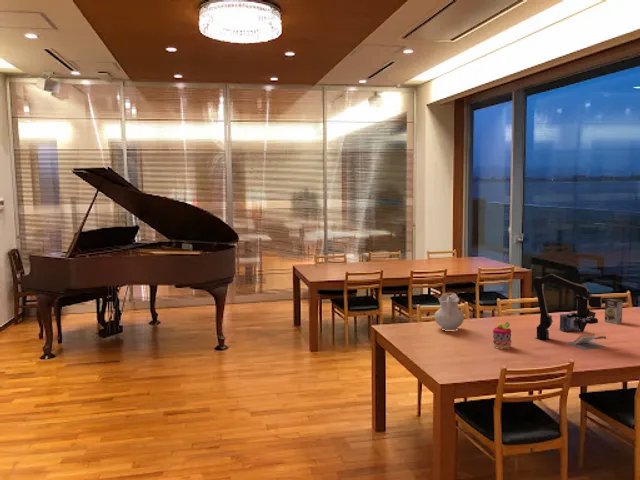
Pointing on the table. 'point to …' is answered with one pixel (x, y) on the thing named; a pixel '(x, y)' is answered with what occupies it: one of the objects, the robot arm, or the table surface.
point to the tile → (584, 338)
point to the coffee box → (613, 311)
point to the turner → (598, 337)
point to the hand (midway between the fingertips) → (581, 331)
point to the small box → (568, 324)
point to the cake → (502, 336)
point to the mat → (586, 345)
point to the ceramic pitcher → (449, 312)
